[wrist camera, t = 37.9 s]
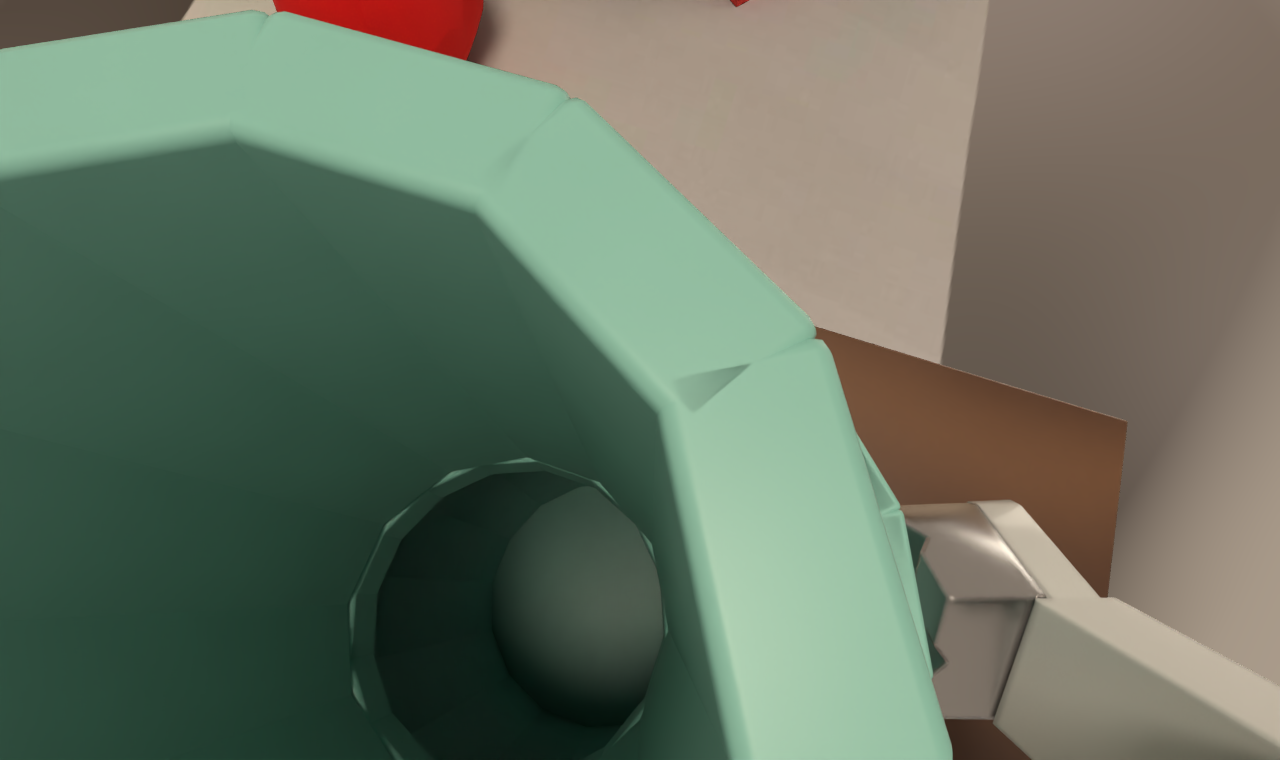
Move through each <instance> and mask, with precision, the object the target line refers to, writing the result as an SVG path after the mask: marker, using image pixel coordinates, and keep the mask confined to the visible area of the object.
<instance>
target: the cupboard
mask: <svg viewBox="0 0 1280 760" xmlns="http://www.w3.org/2000/svg"><path fill="white" fill-rule="evenodd" d="M814 327H815V326H814ZM815 328H816V333H817V335H816V337H815V339H819V340H823V341H824V343H825V344H826V345H827V347H828V348H829V350H830V351H831V353H832V356H833V359H834V362H835V365H836V369H837V372H838V375H839V378H840V382H841V385H842V388H843V391H844V395H845V398H846V401H847V405H848V408H849V411H850V414H851V418H852V421H853V424H854V427H855V431H856V433H857V435H858V436H859V438H860V439H861V441H862V443H863V444H864V446H865V448H866V449H867V451H868V453H869V454H870V456H871V458H872V459H873V461H874V462H875V464H876V466H877V467H878V469H879V471H880V472H881V474H882V476H883V477H884V479H885V481H886V482H887V484H888V485H889V487H890V489H891V490H892V492H893V494H894V495H895V497H896V499H897V500H898V502H899V504H933V503H967V502H968V501H988V500H1012V501H1014V502H1016V503H1018V504H1020V505H1021V506H1022V507H1023V508H1024V509H1025V510H1026V512H1027V513H1028V514H1029V515H1030V516H1031V517H1032V519H1033V520H1034V521H1035V522H1036V523H1037V524H1038V526H1039V527H1040V528H1041V529H1042V530H1043V531H1044V533H1045V534H1046V535H1047V536H1048V537H1049V538H1050V540H1051V541H1052V542H1053V543H1054V544H1055V545H1056V547H1057V548H1058V549H1059V550H1060V551H1061V552H1062V553H1063V555H1064V556H1065V557H1066V558H1067V559H1068V560H1069V562H1070V563H1071V564H1072V565H1073V566H1074V567H1075V569H1076V570H1077V571H1078V572H1079V573H1080V574H1081V576H1082V577H1083V578H1084V579H1085V580H1086V581H1087V583H1088V584H1089V585H1090V586H1091V587H1092V588H1093V589H1094V591H1095V592H1096V593H1097V594H1098V595H1099V596H1100V598H1107V597H1108V588H1109V579H1110V571H1111V562H1112V554H1113V545H1114V536H1115V527H1116V518H1117V510H1118V501H1119V492H1120V484H1121V474H1122V466H1123V458H1124V448H1125V440H1126V432H1127V421H1125V420H1122V419H1119V418H1115V417H1112V416H1109V415H1105V414H1102V413H1099V412H1096V411H1092V410H1089V409H1086V408H1082V407H1079V406H1076V405H1072V404H1069V403H1066V402H1062V401H1059V400H1056V399H1052V398H1049V397H1046V396H1043V395H1039V394H1036V393H1033V392H1030V391H1026V390H1023V389H1020V388H1016V387H1013V386H1010V385H1006V384H1003V383H999V382H996V381H993V380H990V379H987V378H983V377H980V376H977V375H973V374H970V373H967V372H964V371H960V370H957V369H954V368H950V367H947V366H944V365H940V364H937V363H934V362H931V361H927V360H924V359H921V358H917V357H914V356H911V355H907V354H904V353H901V352H898V351H894V350H891V349H888V348H884V347H881V346H878V345H875V344H871V343H868V342H865V341H861V340H858V339H855V338H851V337H848V336H845V335H842V334H838V333H835V332H832V331H828V330H825V329H822V328H818V327H815ZM993 721H994V720H984V719H944V722H945V725H946V728H947V731H948V735H949V738H950V741H951V745H952V753H953V760H1032V759H1030V758H1029V757H1028V756H1027V755H1026V754H1025V753H1024V752H1023V751H1022V750H1021V749H1020V748H1019V747H1017V746H1016V745H1015V744H1014V743H1013V742H1012V741H1011V740H1010V739H1009V738H1008V737H1007V736H1006V735H1004V734H1003V733H1002V732H1001V731H1000V730H999V729H998V728H997V727H996V726H995V725H994V724H993Z"/></svg>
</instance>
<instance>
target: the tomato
mask: <svg viewBox="0 0 1280 760" xmlns="http://www.w3.org/2000/svg"><path fill="white" fill-rule="evenodd" d="M273 2H274V5H275V7H276V10H277V12H283V11H286V12H290V13H293V14H297V15H301V16H304V17H308V18H312V19H315V20H319V21H323V22H326V23H330V24H334V25H337V26H341V27H345V28H348V29H352V30H356V31H359V32H363V33H367V34H370V35H374V36H378V37H381V38H385V39H389V40H392V41H396V42H400V43H403V44H407V45H411V46H414V47H418V48H422V49H425V50H429V51H433V52H436V53H440V54H444V55H447V56H451V57H455V58H458V59H462V60H467V58H468V56H469V53H470V50H471V47H472V44H473V42H474V39H475V36H476V33H477V30H478V26H479V22H480V19H481V15H482V11H483V0H273Z"/></svg>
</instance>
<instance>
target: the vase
mask: <svg viewBox="0 0 1280 760" xmlns="http://www.w3.org/2000/svg"><path fill="white" fill-rule="evenodd" d="M816 335H817V333H816V328H815V327H814V325H813V323H812V321H811V319H810V317H809V316H808V315H807V314H806V313H805V312H804V311H803V310H802V309H801V308H800V307H799V306H798V305H797V304H796V303H794V302H793V301H792V300H791V299H790V298H789V297H788V296H787V295H786V294H785V293H784V292H783V291H782V290H781V289H780V288H779V287H778V286H777V285H776V284H775V283H774V282H773V281H772V280H771V279H769V278H768V277H767V276H766V275H765V274H764V273H763V272H762V271H761V270H760V269H759V268H758V267H757V266H756V265H755V264H754V263H753V262H752V261H751V260H750V259H749V258H748V257H747V256H746V255H745V254H743V253H742V252H741V251H740V250H739V249H738V248H737V247H736V246H735V245H734V244H733V243H732V242H731V241H730V240H729V239H728V238H727V237H726V236H725V235H724V234H723V233H722V232H721V231H720V230H718V229H717V228H716V227H715V226H714V225H713V224H712V223H711V222H710V221H709V220H708V219H707V218H706V217H705V216H704V215H703V214H702V213H701V212H700V211H699V210H698V209H697V208H696V207H695V206H694V205H692V204H691V203H690V202H689V201H688V200H687V199H686V198H685V197H684V196H683V195H682V194H681V193H680V192H679V191H678V190H677V189H676V188H675V187H674V186H673V185H672V184H671V183H670V182H669V181H667V180H666V179H665V178H664V177H663V176H662V175H661V174H660V173H659V172H658V171H657V170H656V169H655V168H654V167H653V166H652V165H651V164H650V163H649V162H648V161H647V160H646V159H645V158H644V157H642V156H641V155H640V154H639V153H638V152H637V151H636V150H635V149H634V148H633V147H632V146H631V145H630V144H629V143H628V142H627V141H626V140H625V139H624V138H623V137H622V136H621V135H620V134H619V133H618V132H616V131H615V130H614V129H613V128H612V127H611V126H610V125H609V124H608V123H607V122H606V121H605V120H604V119H603V118H602V117H601V116H600V115H599V114H598V113H597V112H596V111H595V110H594V109H593V108H591V107H590V106H589V105H588V104H587V103H586V102H585V101H583V100H581V99H578V98H572V99H571V98H570V97H569V95H568V94H567V92H565V91H564V90H562V89H561V88H559V87H558V86H557V85H554V84H550V83H546V82H543V81H539V80H535V79H532V78H528V77H524V76H521V75H517V74H513V73H510V72H506V71H502V70H499V69H495V68H491V67H488V66H484V65H480V64H477V63H473V62H469V61H466V60H462V59H458V58H455V57H451V56H447V55H444V54H440V53H436V52H433V51H429V50H425V49H422V48H418V47H414V46H411V45H407V44H403V43H400V42H396V41H392V40H389V39H385V38H381V37H378V36H374V35H370V34H367V33H363V32H359V31H356V30H352V29H348V28H345V27H341V26H337V25H334V24H330V23H326V22H323V21H319V20H315V19H312V18H308V17H304V16H301V15H297V14H293V13H290V12H286V11H283V12H276V13H274V14H272V15H270V16H268V15H267V14H266V13H265V12H260V11H255V10H248V11H242V12H235V13H229V14H222V15H216V16H210V17H203V18H197V19H190V20H184V21H178V22H171V23H165V24H159V25H153V26H147V27H139V28H133V29H127V30H120V31H114V32H108V33H102V34H95V35H88V36H82V37H76V38H69V39H63V40H57V41H50V42H44V43H37V44H32V45H25V46H18V47H12V48H5V49H0V760H953V753H952V745H951V741H950V738H949V735H948V731H947V728H946V725H945V722H944V718H943V715H942V712H941V708H940V705H939V702H938V699H937V695H936V692H935V689H934V686H933V682H932V678H933V669H932V664H931V658H930V653H929V648H928V642H927V637H926V631H925V626H924V621H923V615H922V610H921V604H920V599H919V594H918V588H917V583H916V577H915V572H914V567H913V561H912V556H911V550H910V545H909V540H908V534H907V529H906V523H905V518H904V514H903V512H902V511H901V510H899V509H900V504H899V502H898V500H897V499H896V497H895V495H894V494H893V492H892V490H891V489H890V487H889V485H888V484H887V482H886V481H885V479H884V477H883V476H882V474H881V472H880V471H879V469H878V467H877V466H876V464H875V462H874V461H873V459H872V458H871V456H870V454H869V453H868V451H867V449H866V448H865V446H864V444H863V443H862V441H861V439H860V438H859V436H858V435H857V433H856V431H855V427H854V424H853V421H852V418H851V414H850V411H849V408H848V405H847V401H846V398H845V395H844V391H843V388H842V385H841V382H840V378H839V375H838V372H837V369H836V365H835V362H834V359H833V356H832V353H831V351H830V350H829V348H828V347H827V345H826V344H825V343H824V341H823V340H819V339H815V337H816Z"/></svg>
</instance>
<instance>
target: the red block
mask: <svg viewBox="0 0 1280 760" xmlns="http://www.w3.org/2000/svg"><path fill="white" fill-rule="evenodd" d="M730 1H731V2H732V3H733V4H734V5H735V6H736V7H737V6H739V5H741V4H743V3H745V2H747V1H749V0H730Z"/></svg>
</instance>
